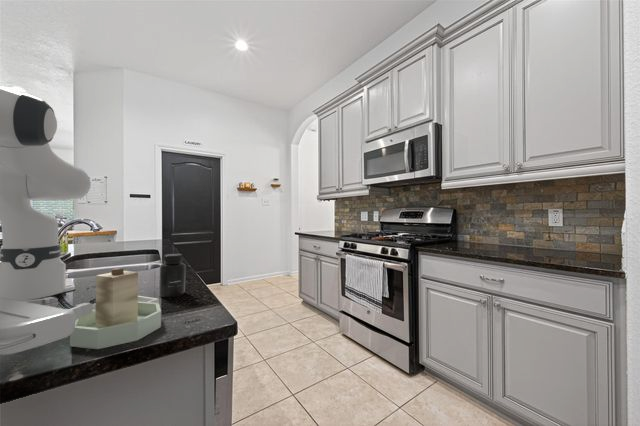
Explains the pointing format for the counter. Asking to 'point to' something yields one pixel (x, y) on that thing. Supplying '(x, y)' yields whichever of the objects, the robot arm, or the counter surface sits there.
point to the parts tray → (139, 300)
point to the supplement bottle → (172, 276)
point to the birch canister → (116, 298)
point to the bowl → (116, 328)
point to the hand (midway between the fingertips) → (72, 304)
